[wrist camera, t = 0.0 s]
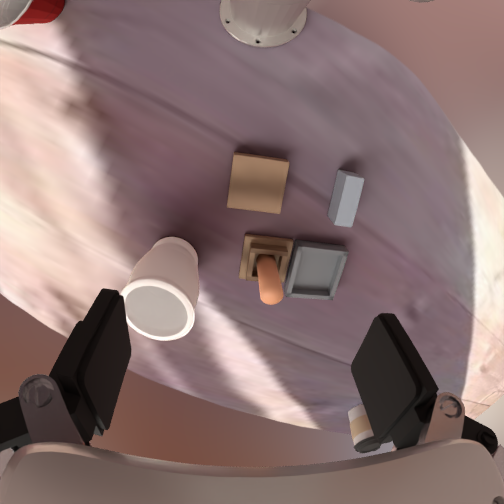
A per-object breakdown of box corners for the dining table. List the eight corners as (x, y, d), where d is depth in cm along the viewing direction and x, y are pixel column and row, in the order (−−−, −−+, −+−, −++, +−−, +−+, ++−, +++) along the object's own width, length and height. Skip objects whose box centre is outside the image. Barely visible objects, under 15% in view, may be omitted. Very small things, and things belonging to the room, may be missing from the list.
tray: (295, 239, 49) (298, 246, 47) (343, 245, 50) (348, 252, 48) (283, 288, 54) (285, 296, 52) (329, 292, 55) (332, 300, 53)
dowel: (257, 251, 49) (262, 284, 40) (276, 253, 49) (285, 286, 40) (254, 267, 50) (258, 303, 42) (273, 269, 51) (280, 305, 42)
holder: (245, 233, 49) (245, 241, 46) (292, 239, 49) (295, 247, 47) (238, 275, 52) (239, 284, 49) (283, 279, 53) (285, 288, 50)
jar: (216, 259, 50) (211, 315, 37) (178, 293, 53) (164, 351, 40) (170, 217, 47) (145, 263, 33) (134, 257, 50) (105, 309, 36)
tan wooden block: (234, 151, 43) (233, 154, 40) (286, 159, 44) (289, 162, 41) (227, 201, 46) (226, 207, 44) (277, 207, 47) (279, 213, 44)
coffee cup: (338, 415, 78) (349, 455, 65) (359, 400, 75) (372, 441, 61) (357, 418, 80) (369, 456, 67) (377, 404, 77) (391, 442, 64)
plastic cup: (25, 8, 25) (-14, -1, 14) (71, -26, 24) (36, -46, 13) (33, 48, 30) (-10, 43, 19) (81, 13, 29) (43, -4, 18)
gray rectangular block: (338, 169, 44) (346, 174, 41) (354, 172, 44) (364, 178, 41) (327, 215, 48) (334, 224, 44) (343, 218, 48) (351, 227, 44)
